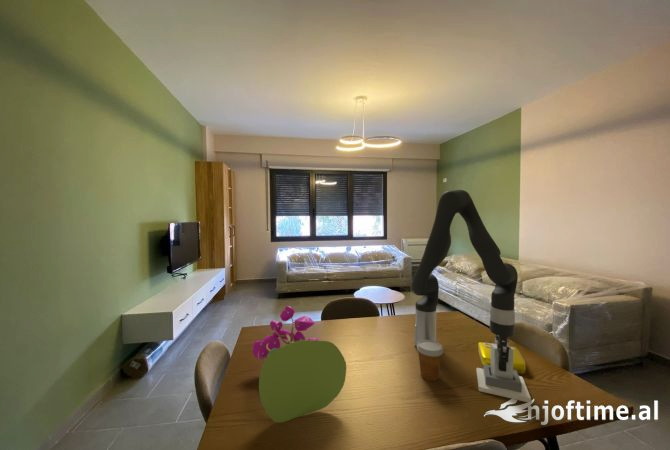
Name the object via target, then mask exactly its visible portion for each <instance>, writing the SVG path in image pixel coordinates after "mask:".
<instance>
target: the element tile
mask: <svg viewBox="0 0 670 450" xmlns="http://www.w3.org/2000/svg"><path fill="white" fill-rule="evenodd" d="M491 343H492V342H491ZM491 343H489V342H483V341H482V342H481V341H479V342H478V345H477V346H478V347H477V348H478V350H477V351H478V354H479V355H478V356H479V358H480V362H481V365H482V366H484V364H486V365H491ZM509 346H510V347H511V348H512V349H513V370H517V373H518V374H526V361H525V359H524V357H523V356H522V354H521V352H520V350H519V349H518V348H517V347H516V346H511V345H509Z"/></svg>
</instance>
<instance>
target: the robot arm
mask: <svg viewBox="0 0 670 450" xmlns="http://www.w3.org/2000/svg"><path fill="white" fill-rule="evenodd" d="M456 214H459V215H460V216H461V217H462V219H463V221H465V224H466V227H467V231H468V236H469V240H470V243H471V245H472V247H473V249H474V250H475V252H476V253H477V255H478V257H479V259H480V261H481V262H482V265H483V268H484V271H485V273H486V275H487V277H488V278H489V280H490V281H492V283H494V284H495V286H494V289H493V290H492V292H491V295H490V297H491V298H490V300H491V301H490V302H491V303H490V314H489V331H490V332H491V333H492V334H493V335H494V344H497V352H498V353H499V357H498V359H499V370H500V371H504V372H506V362H508V357H509V347H508V346H510V340H509V338H511V337H514V336H515V333H516V332H515V328H516V324H515V323H516V314H515V294H516V291H517V286H518V279H519V278H518V277H519V275H518V270H517V268H516V267H515V266H514V265H513V264H511V263H508V262H506V263H505V262H504V261H503V259H502V257H501V253H502V252H501V249H500V248H499V246H498V245H497V243H496V241H494V239H493V236H491V234H490V233H489V231H488V230H487V227H486V226H485V223H483V222H484V221H483V220H482V217H481V216H480V214H479V212H478V210H477V207H476V206H475V203H474V201H473V198H472V197H471V195H470V193H469V192H468V191H466V190H464V189H453V190H447V191H444V193H442V194H441V195H440V197H439V201H438V204H437V208H436V213H435V217H434V222H433V224H432V228H431V232H430V235H429V237H428V239H427V242H426V245H425V249H424V252H423V254H422V257H421V261H420V263H419V265H418V267H417V269H416V271H415V273H414V275H413V278H412V281H411V288H412V289H411V290H412V292H413V294H415V295H416V296H422V297H421V298H420V299H418V300H417V301H416V302H415V324H414V346H415V347H417V345H418V342H419V341H421V340H432V341H435V342H437V306H438V304H439V291H440V289H439V288H440V284H439V280H438V279H437V277H436V276H435V275H434V274H432V272H433V271H435V269H436V268H437V267H439V265H441V264H442V262H444V261H445V259H446V258H447V255H448V253H449V251H450V248H451V246H452V245H451V244H452V235H451V226H452V223H453V220H454V217H455V215H456ZM499 349H500V350H499ZM502 356H505V357H502Z"/></svg>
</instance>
